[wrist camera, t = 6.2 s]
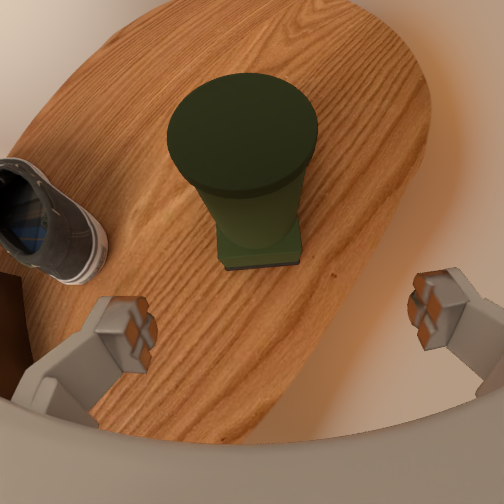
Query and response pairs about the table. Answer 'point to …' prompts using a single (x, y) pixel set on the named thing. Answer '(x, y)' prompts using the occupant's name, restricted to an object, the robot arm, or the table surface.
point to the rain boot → (247, 163)
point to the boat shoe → (47, 226)
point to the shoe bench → (12, 335)
